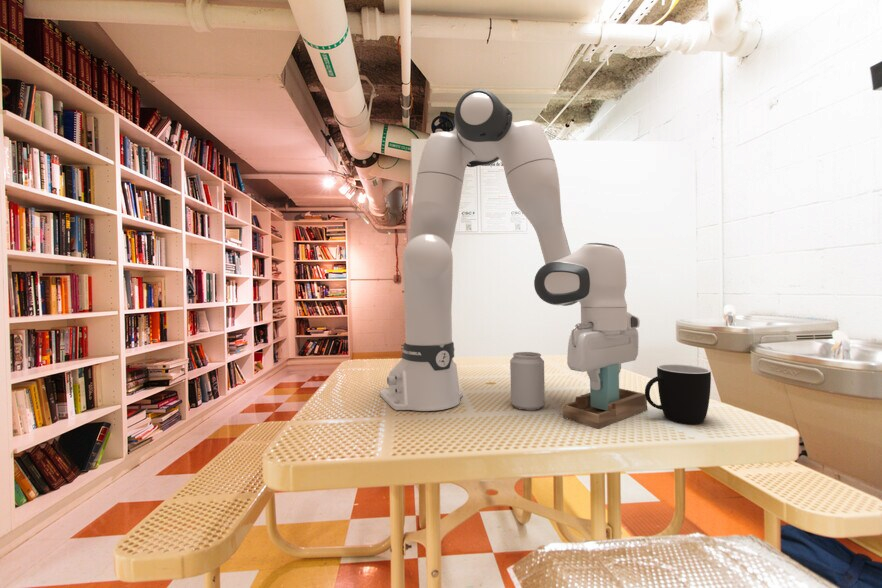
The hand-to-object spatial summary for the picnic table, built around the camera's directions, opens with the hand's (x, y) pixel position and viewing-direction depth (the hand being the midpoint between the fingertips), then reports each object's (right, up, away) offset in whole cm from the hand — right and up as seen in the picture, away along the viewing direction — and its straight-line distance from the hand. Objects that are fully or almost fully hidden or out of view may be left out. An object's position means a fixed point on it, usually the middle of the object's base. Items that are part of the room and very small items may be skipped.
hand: (604, 387), depth 78 cm
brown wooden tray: (0, -6, 0) cm, 6 cm away
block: (0, -4, 0) cm, 4 cm away
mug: (+13, -6, -4) cm, 14 cm away
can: (-15, -6, +6) cm, 17 cm away
